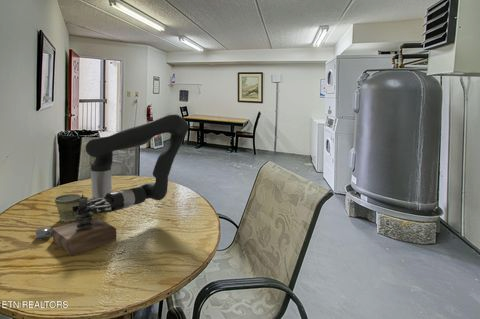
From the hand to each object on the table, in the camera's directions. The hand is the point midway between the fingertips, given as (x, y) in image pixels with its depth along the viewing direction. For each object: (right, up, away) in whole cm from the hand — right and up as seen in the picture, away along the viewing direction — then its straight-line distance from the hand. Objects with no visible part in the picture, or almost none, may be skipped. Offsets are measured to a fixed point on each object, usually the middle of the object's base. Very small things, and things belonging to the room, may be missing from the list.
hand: (75, 210), depth 108 cm
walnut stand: (+1, -12, +4) cm, 13 cm away
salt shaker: (+2, -6, +3) cm, 7 cm away
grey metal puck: (-15, -11, +6) cm, 20 cm away
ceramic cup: (-14, -8, +24) cm, 29 cm away
